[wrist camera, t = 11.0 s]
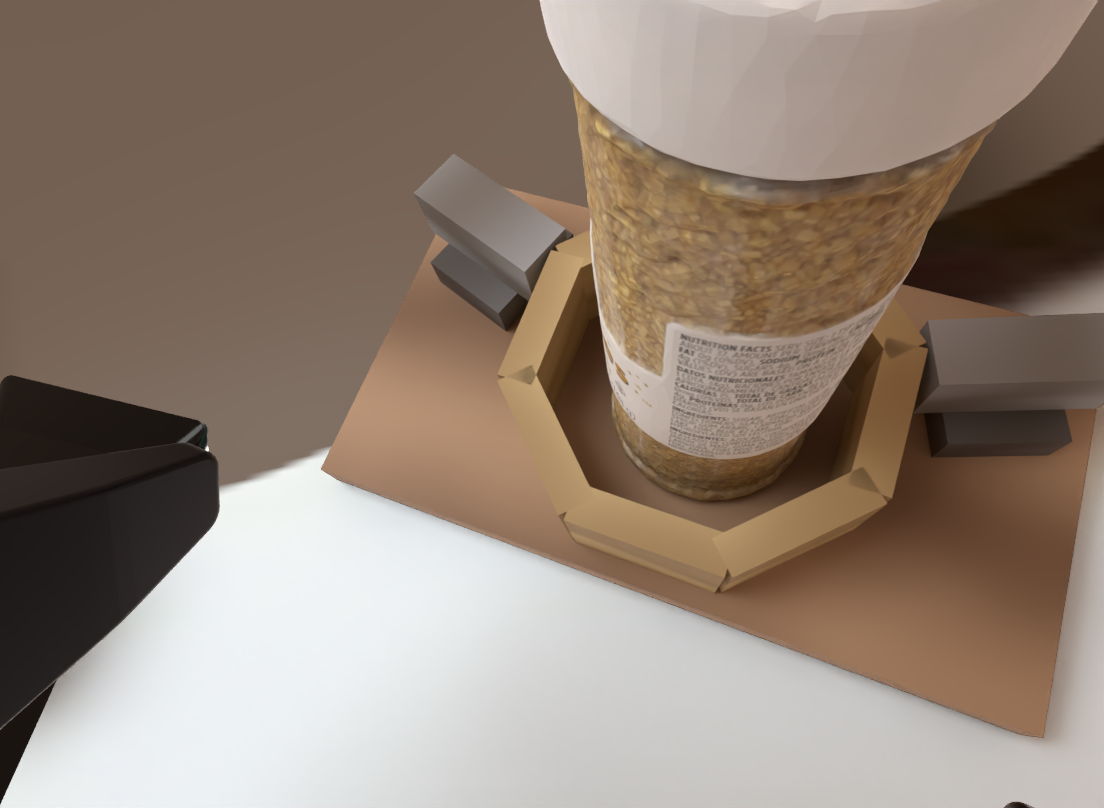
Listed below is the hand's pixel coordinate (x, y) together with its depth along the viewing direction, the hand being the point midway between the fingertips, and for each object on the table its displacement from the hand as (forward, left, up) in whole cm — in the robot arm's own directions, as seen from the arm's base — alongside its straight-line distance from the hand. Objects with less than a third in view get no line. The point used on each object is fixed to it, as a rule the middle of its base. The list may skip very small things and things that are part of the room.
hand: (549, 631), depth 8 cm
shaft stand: (+6, 0, -9) cm, 11 cm away
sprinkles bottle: (+6, 0, -9) cm, 11 cm away
